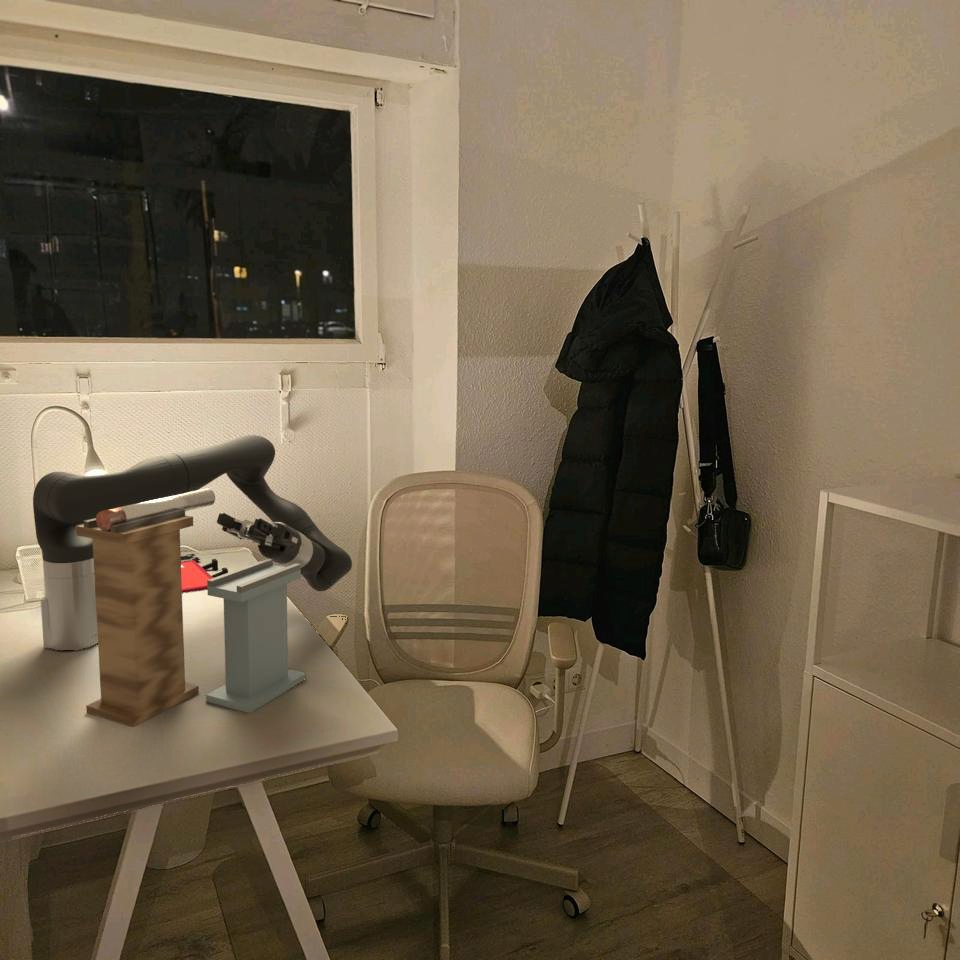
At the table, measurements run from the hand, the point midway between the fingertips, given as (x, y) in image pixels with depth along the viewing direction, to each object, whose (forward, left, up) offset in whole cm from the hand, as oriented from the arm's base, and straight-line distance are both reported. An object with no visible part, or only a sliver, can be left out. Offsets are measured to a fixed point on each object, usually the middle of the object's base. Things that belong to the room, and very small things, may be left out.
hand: (237, 520), depth 152 cm
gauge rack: (+6, -16, -26) cm, 31 cm away
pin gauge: (-9, -17, +5) cm, 20 cm away
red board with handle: (-23, +53, -27) cm, 64 cm away
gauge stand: (-12, -20, -26) cm, 35 cm away
